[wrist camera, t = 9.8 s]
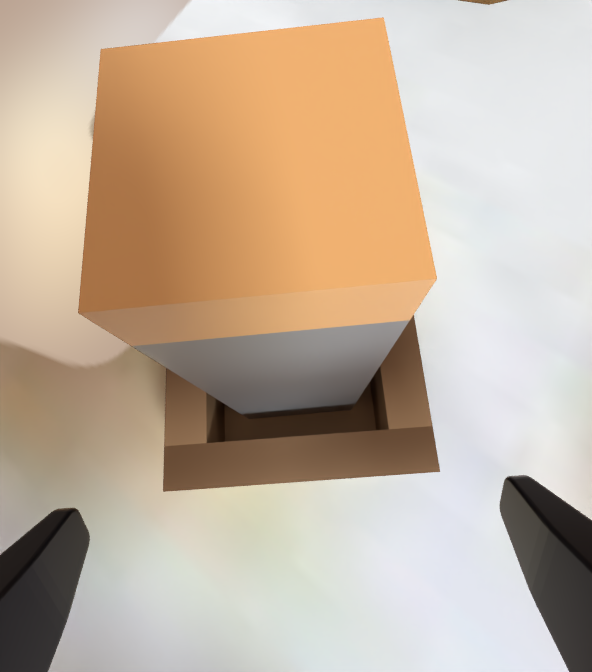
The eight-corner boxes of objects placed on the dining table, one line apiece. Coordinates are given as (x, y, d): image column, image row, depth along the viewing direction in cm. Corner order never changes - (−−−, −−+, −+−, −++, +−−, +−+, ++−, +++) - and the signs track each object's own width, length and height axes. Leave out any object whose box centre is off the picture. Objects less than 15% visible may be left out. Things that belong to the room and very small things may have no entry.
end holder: (413, 469, 17) (440, 471, 14) (196, 485, 18) (163, 491, 14) (383, 271, 20) (399, 227, 16) (197, 287, 20) (169, 247, 17)
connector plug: (351, 410, 17) (436, 278, 5) (248, 419, 17) (78, 313, 5) (339, 313, 19) (383, 17, 6) (244, 322, 19) (100, 49, 6)
